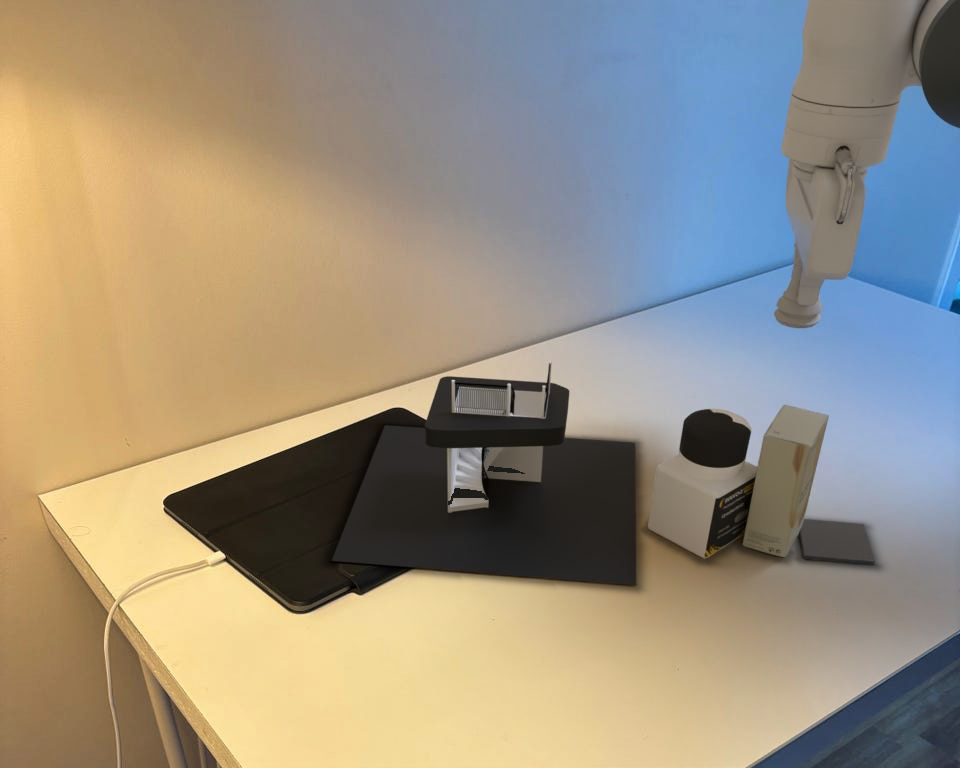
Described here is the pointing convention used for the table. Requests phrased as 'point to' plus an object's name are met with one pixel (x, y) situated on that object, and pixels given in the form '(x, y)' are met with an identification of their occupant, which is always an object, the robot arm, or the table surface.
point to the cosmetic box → (784, 479)
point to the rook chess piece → (796, 303)
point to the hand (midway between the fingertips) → (802, 293)
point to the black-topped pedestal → (497, 490)
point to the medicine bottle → (705, 484)
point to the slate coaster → (835, 542)
